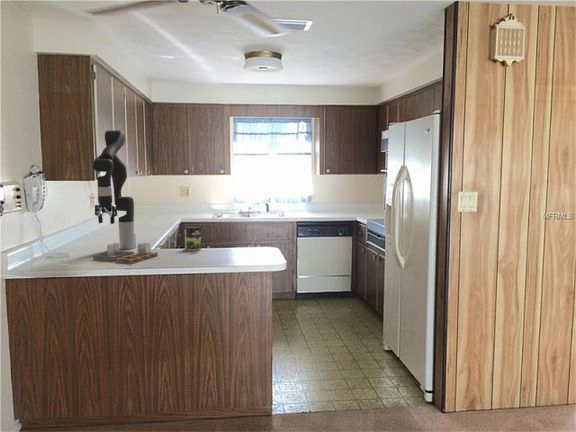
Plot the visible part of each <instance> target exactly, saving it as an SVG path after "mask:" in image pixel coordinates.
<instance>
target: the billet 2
mask: <svg viewBox="0 0 576 432" xmlns="http://www.w3.org/2000/svg"><path fill="white" fill-rule="evenodd" d="M150 252H151V243H150V242H144V241H143V242H139V243H137V253H138V254H143V255H147V254H150Z"/></svg>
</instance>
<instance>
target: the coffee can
mask: <svg viewBox="0 0 576 432" xmlns="http://www.w3.org/2000/svg"><path fill="white" fill-rule="evenodd" d="M201 229H202V226H199V225H188V226H184V229H183V230H184V250H185V249H187V250H186V251H199V250H198V249H200V250H202V232H201Z"/></svg>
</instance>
